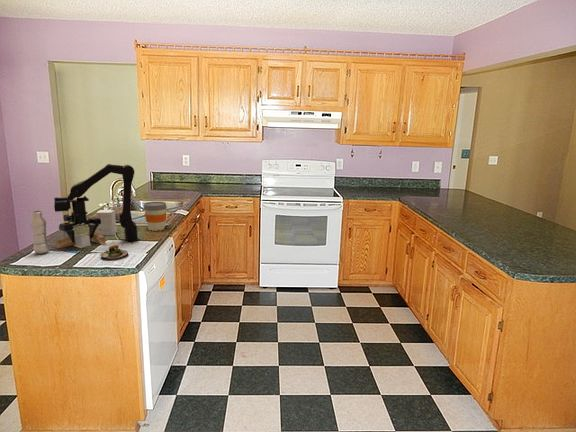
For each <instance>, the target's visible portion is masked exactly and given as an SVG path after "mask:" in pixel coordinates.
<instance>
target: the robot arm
mask: <svg viewBox="0 0 576 432" xmlns="http://www.w3.org/2000/svg"><path fill="white" fill-rule="evenodd" d="M110 174H117V175H121V176H122V177H121V178H122V181H123V187H122V191H123V192H122V209H121V212H120V211H119V212H118V220H117V221H118V223H120V226H121V227H122V228H123V230H124V239H122V242H126V243H129V244H131V243H134V242H138V241H141V238H138V229H137V228H138V226H137V224H136V222H135V221H133V217H132V211H131V200H132V199H131V198H132V184H133V180H134V177H135V169H134V168H133V166H132V165H130V164H124V165H119V164H111V163H108V164H106V165H105V166H104V167H102V168H101V169H100V170H98V171H97V172H95V173H94V174H92V175H91V176H89V177H87V179H84V180H82V181H79V182H77V183H74V184H73V185H72V186H71V187H70V193H69V194H68V195H67V196H66V197H65V196H64V197H58V196H57V197H54V198H53V199H54V205H53V206H54V211H55V213H58V212H69V210H71V209H72V211H71V212H70V213H71V215H69V214H64V215H63V216H62V217H63V221H64V222H63V223H60V224H59V225H58V230H59V231H62V232H65V233H66V234H67V235H68V237H70V239H71V241H72V243H74V241H75V238H74V236H75V230H74V228H76V227H83V226H85V225H87V227H88V228H89V229H88V231H89V232H88V233H90V238H91V239H92V237H93V235H94V234H95V232H96V230H97V229H98V228H97V227H98V226H99V224H101V219H100V218H97V217H96V216H94V217H93V216H92V217H88V218H87V215H88V213H89V212H88V211H87V209H86V202H89V201H90V199H89V197H87V196H86V195H85V194H86V192H87V191H89V189H91V187H92V186H93V185H95V184H96V183H98V182H99V181H102V179H104V178H105V177H107V176H108V175H110Z"/></svg>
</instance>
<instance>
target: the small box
mask: <svg viewBox="0 0 576 432" xmlns="http://www.w3.org/2000/svg"><path fill="white" fill-rule="evenodd" d="M95 215H96V216H95V217H96V218H100V219H101V224H99V226H98V227H97V228H96V229H97V234H98V235H101V236H114V235H115V234H116V233H117V232H118V231H117V220H116V219H117V218H116V211H115V209H99V210H97V211H96V213H95Z"/></svg>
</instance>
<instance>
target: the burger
mask: <svg viewBox="0 0 576 432" xmlns="http://www.w3.org/2000/svg"><path fill="white" fill-rule="evenodd" d="M126 255H127V256H129V252H128V250H125V249H120V247H119V245H118V244H117V243H114V242H113V240H112V244H110V245H108V250H107V249H106V250H105V251H103V252H101V253H100V259H101V260H103V259H109V260H113V259H119V258H124V257H125V256H126Z"/></svg>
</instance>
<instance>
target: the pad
mask: <svg viewBox="0 0 576 432" xmlns="http://www.w3.org/2000/svg"><path fill="white" fill-rule="evenodd" d="M90 246H92V243H90V245H89V246H88V247H90ZM73 247H77V248H79V249H82V248H86V247H87V246H85V247H81V246H77V245H76V244H75V245H73Z"/></svg>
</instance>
